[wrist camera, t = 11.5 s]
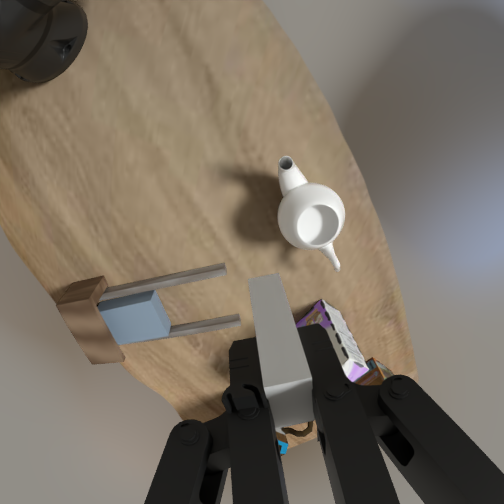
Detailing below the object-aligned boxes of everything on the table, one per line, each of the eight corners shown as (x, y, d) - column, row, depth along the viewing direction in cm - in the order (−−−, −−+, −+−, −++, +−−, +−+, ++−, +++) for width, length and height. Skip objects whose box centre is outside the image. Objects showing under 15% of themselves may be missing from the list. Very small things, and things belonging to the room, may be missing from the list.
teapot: (302, 267, 51) (316, 297, 43) (243, 165, 43) (247, 176, 35) (350, 240, 50) (372, 265, 41) (299, 134, 42) (317, 138, 33)
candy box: (294, 355, 60) (310, 417, 45) (273, 344, 58) (286, 409, 43) (340, 311, 56) (371, 370, 41) (320, 297, 54) (349, 359, 39)
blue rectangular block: (101, 300, 51) (94, 312, 48) (155, 287, 51) (150, 300, 47) (119, 332, 55) (113, 345, 51) (171, 322, 54) (168, 335, 51)
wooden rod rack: (72, 282, 49) (55, 305, 42) (221, 249, 48) (220, 272, 42) (104, 340, 55) (93, 366, 48) (240, 318, 55) (242, 346, 48)
